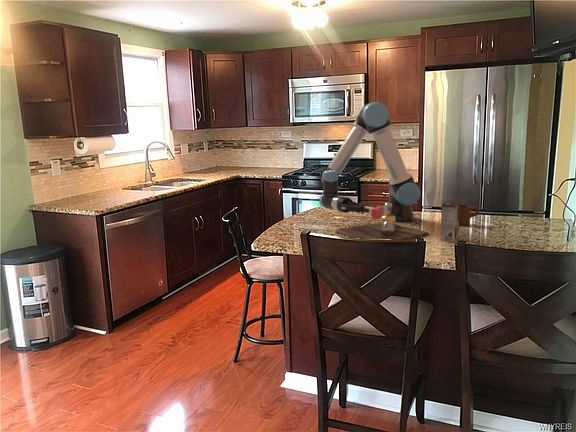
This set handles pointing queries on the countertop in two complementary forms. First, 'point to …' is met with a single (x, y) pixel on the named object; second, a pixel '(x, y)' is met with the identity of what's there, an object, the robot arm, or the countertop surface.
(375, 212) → the valve lever
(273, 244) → the countertop surface
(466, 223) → the mug
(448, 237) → the coffee box
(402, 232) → the valve board
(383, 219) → the valve pipe
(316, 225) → the countertop surface
